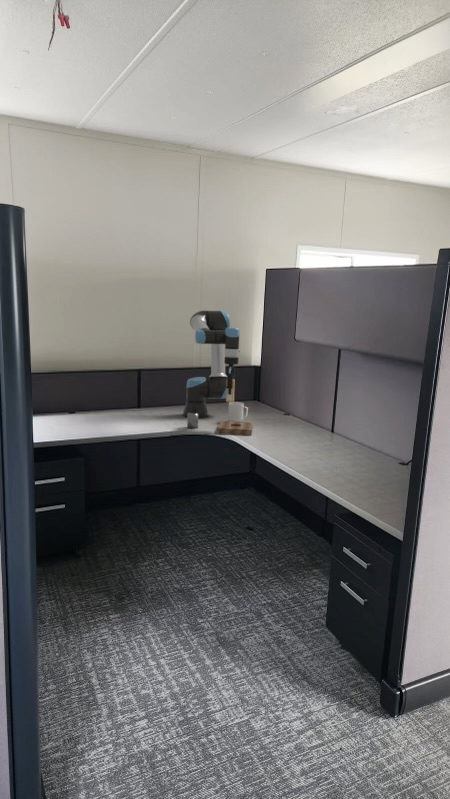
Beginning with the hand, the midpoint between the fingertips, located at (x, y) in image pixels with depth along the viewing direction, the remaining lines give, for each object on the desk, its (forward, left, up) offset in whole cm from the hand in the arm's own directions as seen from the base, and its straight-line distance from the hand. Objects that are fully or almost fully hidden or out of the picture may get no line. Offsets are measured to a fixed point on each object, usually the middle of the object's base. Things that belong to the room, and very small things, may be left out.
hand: (230, 399), depth 295 cm
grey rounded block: (-16, -13, -17) cm, 27 cm away
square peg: (0, 0, -1) cm, 1 cm away
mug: (-13, +18, -17) cm, 28 cm away
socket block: (+2, +3, -17) cm, 18 cm away
